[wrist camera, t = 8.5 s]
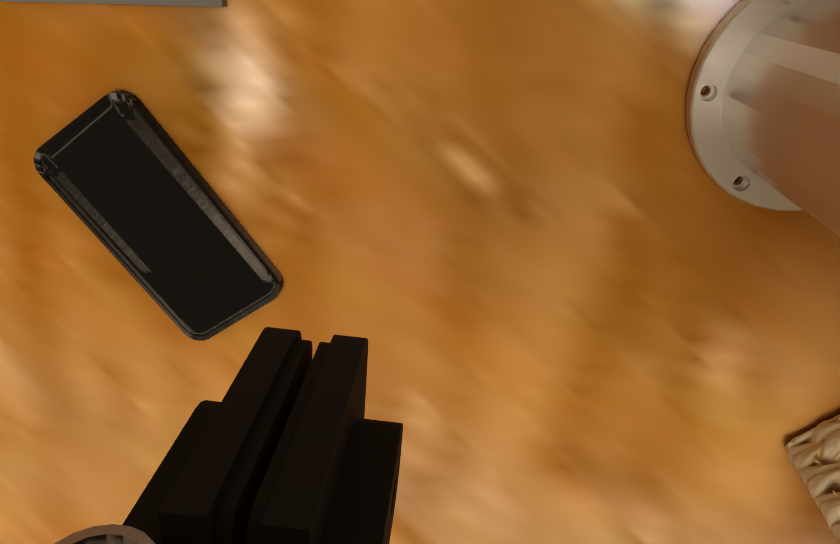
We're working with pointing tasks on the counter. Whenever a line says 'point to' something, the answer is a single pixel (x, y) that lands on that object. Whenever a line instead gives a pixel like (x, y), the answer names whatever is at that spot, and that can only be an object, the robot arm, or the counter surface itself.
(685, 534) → the counter surface
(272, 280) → the phone
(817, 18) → the robot arm
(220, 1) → the mat
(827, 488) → the storage basket
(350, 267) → the counter surface
